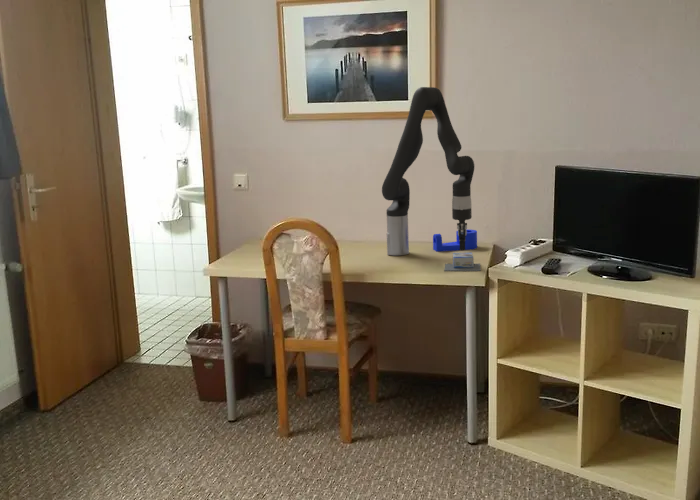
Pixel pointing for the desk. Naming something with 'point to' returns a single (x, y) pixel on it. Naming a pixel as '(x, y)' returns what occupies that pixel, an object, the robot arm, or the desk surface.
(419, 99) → the robot arm
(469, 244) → the bracket
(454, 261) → the medicine box
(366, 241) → the desk surface
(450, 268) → the mat
